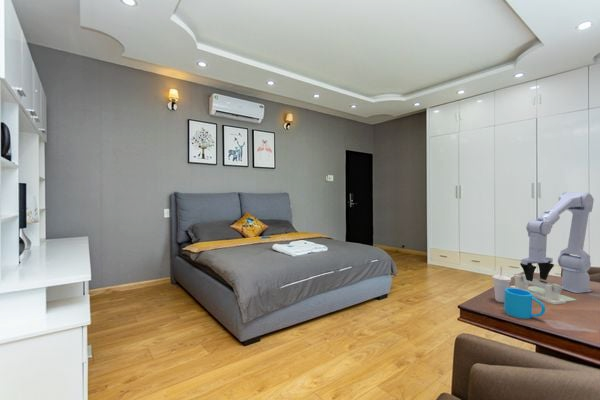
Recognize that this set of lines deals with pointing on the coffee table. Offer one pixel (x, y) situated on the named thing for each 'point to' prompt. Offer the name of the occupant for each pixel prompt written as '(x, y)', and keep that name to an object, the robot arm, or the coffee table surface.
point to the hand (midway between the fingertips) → (536, 279)
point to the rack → (548, 296)
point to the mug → (520, 303)
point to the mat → (559, 295)
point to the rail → (540, 283)
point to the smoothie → (500, 286)
